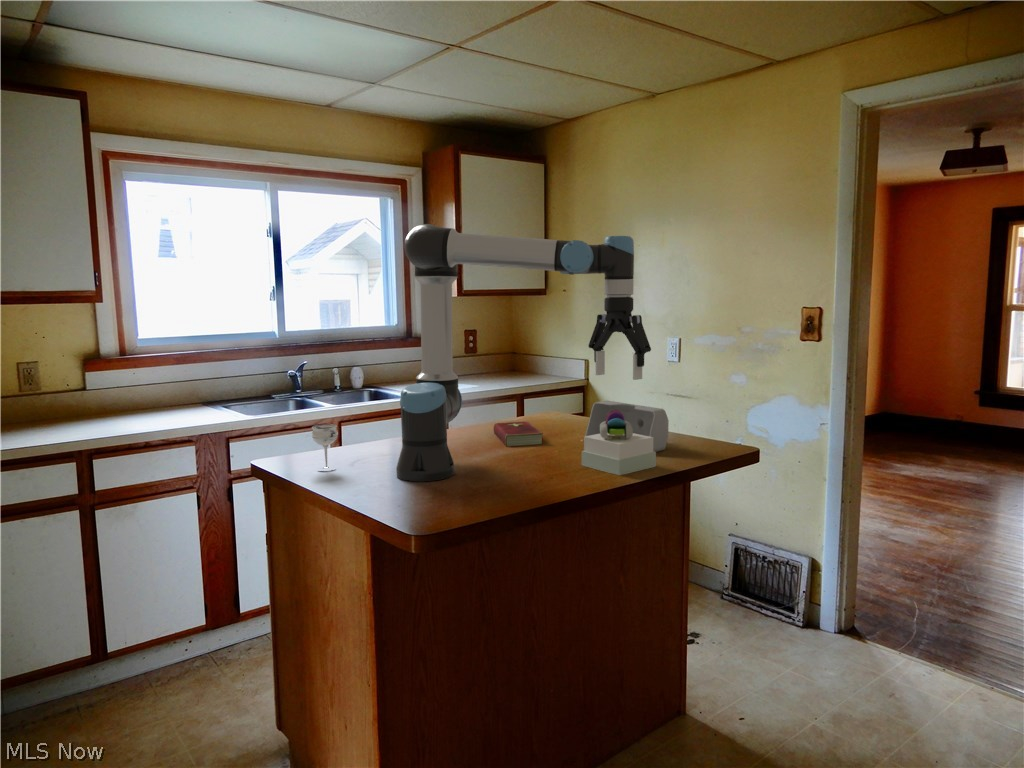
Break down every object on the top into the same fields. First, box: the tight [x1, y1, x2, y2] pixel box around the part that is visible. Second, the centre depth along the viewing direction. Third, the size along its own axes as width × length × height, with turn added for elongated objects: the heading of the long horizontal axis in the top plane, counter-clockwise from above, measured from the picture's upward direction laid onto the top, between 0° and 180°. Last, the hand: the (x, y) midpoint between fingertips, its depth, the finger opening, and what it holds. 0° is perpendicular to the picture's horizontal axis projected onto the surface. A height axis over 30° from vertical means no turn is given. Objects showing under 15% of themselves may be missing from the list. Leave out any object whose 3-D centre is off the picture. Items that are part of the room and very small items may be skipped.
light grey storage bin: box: [584, 400, 670, 453], centre depth 213 cm, size 25×16×12 cm, turn 39°
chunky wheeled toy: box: [600, 410, 633, 439], centre depth 186 cm, size 8×10×7 cm
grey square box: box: [581, 433, 657, 476], centre depth 187 cm, size 14×14×8 cm
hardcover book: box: [493, 420, 544, 447], centre depth 225 cm, size 12×21×4 cm, turn 12°
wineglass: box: [311, 423, 339, 468], centre depth 188 cm, size 7×7×12 cm
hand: (618, 377), depth 185 cm, fingers open, 13 cm apart
